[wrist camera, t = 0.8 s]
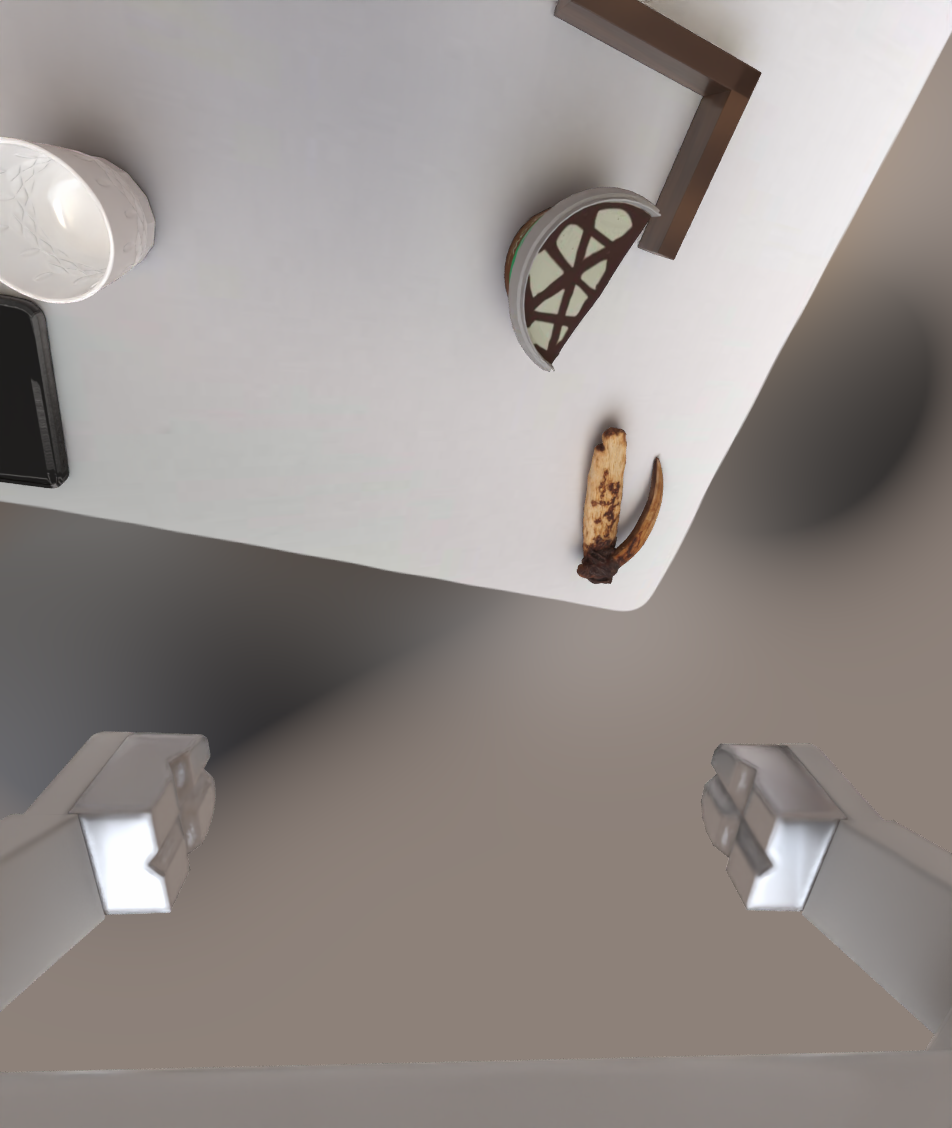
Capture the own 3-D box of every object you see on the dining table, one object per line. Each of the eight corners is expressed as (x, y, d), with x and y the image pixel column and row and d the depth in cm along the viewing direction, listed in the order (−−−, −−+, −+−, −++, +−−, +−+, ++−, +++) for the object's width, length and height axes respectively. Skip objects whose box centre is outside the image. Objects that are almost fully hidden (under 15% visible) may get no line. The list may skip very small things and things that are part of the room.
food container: (550, 143, 41) (594, 138, 33) (612, 199, 44) (667, 206, 35) (459, 301, 46) (478, 330, 38) (519, 342, 49) (549, 377, 41)
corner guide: (562, -15, 36) (581, -33, 33) (730, 79, 40) (762, 72, 37) (500, 189, 42) (511, 190, 39) (653, 253, 46) (674, 260, 43)
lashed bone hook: (642, 563, 65) (669, 413, 55) (660, 588, 62) (693, 432, 51) (564, 574, 64) (576, 423, 53) (578, 601, 60) (594, 443, 50)
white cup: (72, 111, 36) (-14, 95, 28) (187, 215, 40) (141, 228, 32) (14, 212, 39) (-81, 224, 31) (128, 301, 43) (71, 332, 34)
